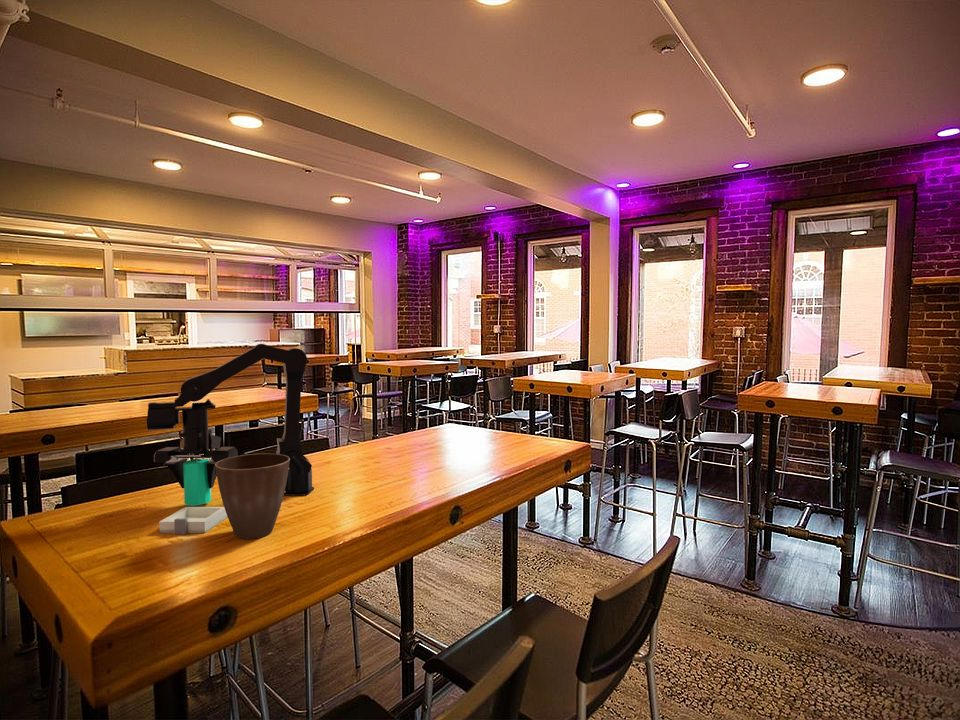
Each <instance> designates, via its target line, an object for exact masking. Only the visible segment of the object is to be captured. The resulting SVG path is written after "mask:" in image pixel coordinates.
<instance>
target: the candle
mask: <svg viewBox="0 0 960 720" xmlns="http://www.w3.org/2000/svg"><path fill="white" fill-rule="evenodd" d="M209 462H211V460H210V459H209V458H192V459H190V460H187V461H186V462H184V464H183V470H184V488H183V493H184V495H183V497H184V500H183V501H184V505H186V506H190V507H194V506H200V505H201V506H202V505H204V504H205V505H206V504H208V503H210V502H211V500H212V488H209V485H208V477H207V467H206V464H207V463H209Z"/></svg>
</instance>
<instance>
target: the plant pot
mask: <svg viewBox="0 0 960 720" xmlns="http://www.w3.org/2000/svg"><path fill="white" fill-rule="evenodd" d="M289 462H290V458H289V457H288V456H286V455H281V454H277V453H252V454H249V453H248V454H242V455H238V456H235V457H230V458H226V459H223V460H220V461H218V462H216V463H215V469H216V475H217V477H216V480H217V485H218V490H219V494H220V498H221V500H222V505H223V507H224V508H225V511H226V514H227V519H228V522H229V524H230V527H231V529H232V531H233V533H234V535H235V537H236V538H238V539H241V540H255V539H259V538H263V536H264V537H266V536H268V535H270V534H272V532H273V530H274V527H275V525H276V523H277V519H278V516H279V513H280V510H281V507H282V503H283V500H284V497H285V495H284V493H285V492H286V491H285V487H286V482H287V476H288V469H289Z"/></svg>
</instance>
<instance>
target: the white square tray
mask: <svg viewBox="0 0 960 720" xmlns="http://www.w3.org/2000/svg"><path fill="white" fill-rule="evenodd" d="M226 519H228V517H227V514H226V511H225V508H224V506H185V507H183V508H181V509H179V510H177V511H176V512H174V513H172V514H171V515H169V516H167V517H165V518H164V519H161V520H160V521H159V522H158V523H159V524H158V525H159V534H174V535H187V534H205V533H207V532H208V531H210V530H211V529H213V528H214V527H216V526H217V525H219V524H220V523H222V522H223V521H224V520H226Z"/></svg>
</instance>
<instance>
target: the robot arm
mask: <svg viewBox="0 0 960 720" xmlns="http://www.w3.org/2000/svg"><path fill="white" fill-rule="evenodd" d="M262 360H269V361H272V362H277V363H281V364H282V366H283V367H282V369H283V373H284V377H285V403H284V405H285V406H284V425H283V426H284V427H283V428H284V429H283V434H282V437H281V438H280V437H279V438H278V437H277V438H276V443H277V444H276V445H277V448H276V451H275V454H281V455H286V456H288V457H289V458H290V462H289V469H288V476H287V482H286V487H285V491H284V496H307V495H309V494H310V493H311V492H312V491H314V490H315V486H313V469H312V463H311V462H310V460H309V459H308V458H307V457H306V456H305V455H304V452H303V446H302V441H301V434H300V424H301V423H300V422H301V420H300V419H301V417H300V416H301V400H302V399H301V395H302V394H301V393H302V381H303V378H304V374H305V371H306V367H307V362H308V356H307V353H305V351H304V350H302V349H300V348H296V347H291V348H288V349H282V348H279V347H275V346H270V345H267V344H266V343H257V344H256V345H255V346H254V347H252V348H251V349H249V350H246V351H245V352H243V353H242V354H240V355H238V356H236V357H235V358H232V359H231V360H229V361H227V362H226V363H224V364H221V365H220V366H218V367H217V368H215V369H211V370H209V371H205V372H202V373H200V374H197V375H195V376H192V377H190V378H188V379H186V380H185V381H184V382H183V383H182V384H181V387H180V394H179V396H177V397H175V399H174V401H169V402H168V401H167V402H157V401H156V402H154V401H153V402H148V405H147V417H146V428H147V431H160V430H161V431H164V430H172V429H173V430H174V429H175V428H176V427H175V426H177V425H180V420H181V416H182V432H179V437H180V438H182V444H183V445H182V446H183V448H181V447H180V446H168V447H164V448H160V449H157V450H156V451H155V453H154V454H153V462H154V463H163V466H164V467H167V468H168V469H169V471H170V472H171V473H172V475H173V476H174V478H175V479H176V481H177V482H178V484H179V485H180V487H181V489H184V470H183V464H184V462H186V461H188V459H196V458H197V459H210V462H209V463H207V464H206V467H207V477H208V485H209V488H211V489H212V488H214V485H215V482H216V480H217V475H216V469H215V463H216V462H218V461H220V460H223V459H226V458H230V457H235V456H239V453H238V452H239V451H238V449H237V448H236V447H235V446H221V439H222V438H221V436H217V435H213V434H212V433H213V431H212V429H211V428H209V415H208V414H209V413H208V410H213V409H216V406H217V405H216V404H214V403H213V402H212V401H211V400H210V398H208V399H206V401H205V402H198V401H201V400H202V399H204V398H205V397H206V396H207V395H209V394H210V393H211V392H212V391H214V389H216V388H217V387H218V386H219V385H221V384H222V383H223V382H225V381H227V380H229V378H232V377H233V376H235V375H237V374H238V373H241V372H242V371H244V370H245V369H248V368H249V367H251V366H252V365H254V364H257V363H258V362H260V361H262ZM190 402H192V403H191V405H190V406H185V405H187V404H188V403H190ZM180 411H181V414H182V415H181V414H180ZM180 415H181V416H180Z"/></svg>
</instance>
